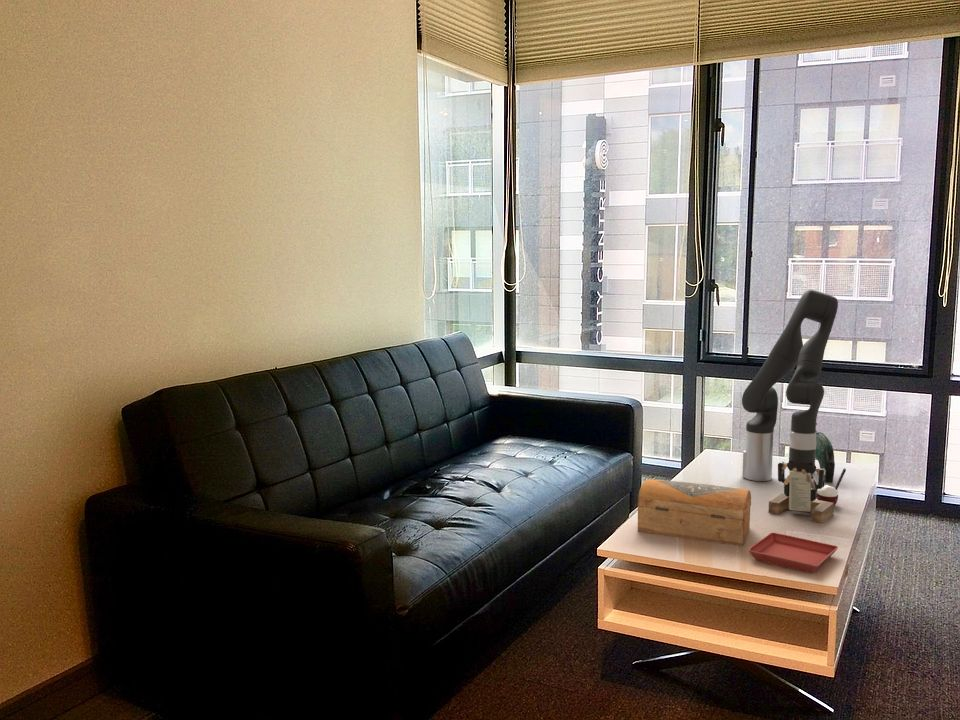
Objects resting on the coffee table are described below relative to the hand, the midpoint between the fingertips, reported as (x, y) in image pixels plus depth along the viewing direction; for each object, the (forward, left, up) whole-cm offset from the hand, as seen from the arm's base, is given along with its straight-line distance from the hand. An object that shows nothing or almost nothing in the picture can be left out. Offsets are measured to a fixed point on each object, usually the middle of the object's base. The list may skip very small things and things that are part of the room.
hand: (800, 498), depth 251 cm
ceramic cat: (-10, +47, -5) cm, 48 cm away
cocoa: (+4, +15, -5) cm, 16 cm away
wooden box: (-19, -33, -5) cm, 39 cm away
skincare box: (0, 0, -4) cm, 4 cm away
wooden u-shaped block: (0, +2, -5) cm, 5 cm away
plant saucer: (+11, -37, -6) cm, 39 cm away
